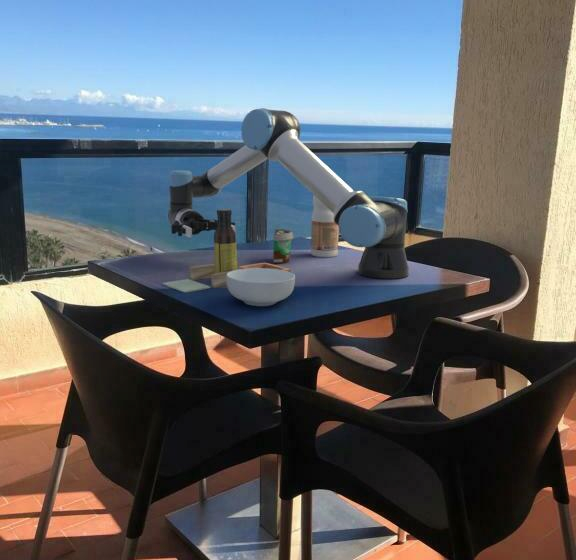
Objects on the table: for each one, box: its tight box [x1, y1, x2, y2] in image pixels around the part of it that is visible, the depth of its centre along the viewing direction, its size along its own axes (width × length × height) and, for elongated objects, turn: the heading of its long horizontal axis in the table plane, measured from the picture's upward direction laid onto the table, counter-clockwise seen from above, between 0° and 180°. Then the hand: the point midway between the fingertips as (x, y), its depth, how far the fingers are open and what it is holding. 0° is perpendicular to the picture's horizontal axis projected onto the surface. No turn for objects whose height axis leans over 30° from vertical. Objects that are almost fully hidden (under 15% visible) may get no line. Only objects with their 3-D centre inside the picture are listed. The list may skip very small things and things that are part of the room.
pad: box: [162, 278, 211, 293], centre depth 161 cm, size 11×8×1 cm
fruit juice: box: [310, 195, 340, 258], centre depth 205 cm, size 9×9×28 cm
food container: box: [272, 228, 294, 265], centre depth 194 cm, size 12×6×10 cm, turn 179°
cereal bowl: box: [226, 268, 296, 307], centre depth 147 cm, size 17×17×7 cm
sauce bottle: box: [213, 208, 238, 273], centre depth 167 cm, size 6×6×20 cm
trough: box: [189, 260, 261, 289], centre depth 169 cm, size 12×16×4 cm
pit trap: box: [238, 262, 292, 273], centre depth 179 cm, size 12×10×2 cm
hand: (212, 231), depth 175 cm, fingers open, 13 cm apart
